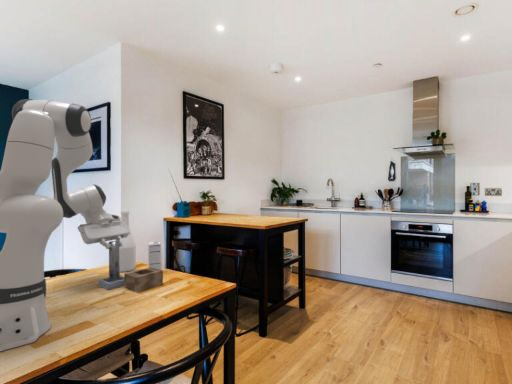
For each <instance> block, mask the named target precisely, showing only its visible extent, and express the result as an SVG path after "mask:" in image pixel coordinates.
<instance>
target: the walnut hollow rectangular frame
mask: <svg viewBox="0 0 512 384" xmlns="http://www.w3.org/2000/svg"><path fill="white" fill-rule="evenodd" d="M123 273H124V274H123V276H124V286H123V287H124V289H126V290H128V291H131V292H134V293H140V292H143V291H146V290H149V289H153V288H156V287H160V286H163V283H164V270H163V269H161V270H159V269H155V268H151V267H149V266H148V267H146V268H141V269H137V270H136V269H135V270H132V271H128V272H123Z"/></svg>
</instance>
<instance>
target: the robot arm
mask: <svg viewBox="0 0 512 384" xmlns="http://www.w3.org/2000/svg"><path fill="white" fill-rule="evenodd" d="M11 118H12V123H11V125H10V128H9V130H8V134H7V139H6V144H5V149H4V153H3V154H4V155H3V159H2V163H1V168H0V233H2V234H3V233H4V234H6V236H5V241H4V244H3V246H2V249H1V250H0V352H4V351H6V350H9V349H10V350H11V349H14V348H17V347H20V346H24V345H25V346H26V345H28V344H31V343H34V342H36V341H37V340H39V338H40V336H42V335H43V334H44V333H45V334H46V332H47V331H49V330H50V329H51V327H52V323H51V321H50V317H49V314H48V311H47V304H46V298H47V280H46V278H45V252H46V247H47V245H48V242H49V239H50V238H51V235H52V234H53V232H54V231H55V230H56V229H57V228H58V227H59V226H60V225H61V224H62V221H63V219H65V218H66V219H71V218H74V217H75V216H77V215H79V214H80V215H81V217H83V218H84V220H85V224H84V223H83V224H82V223H81V224H80V225H79V226H77V231H78V232H79V233H80V237H81V239H82V241H83V244H86V245H92V244H97V243H99V244H100V246H101V245H102V246H103V247H105V249H106V250H109V249H110V248H111V247H112V246H111V244H110V243H109V242H111V241H119V247H121V246H122V245H123V243H122V242H121V238H126V237H127V236H128V235H129V233H130V231H131V229H130V228H129V229H130V230H129V229H128V227H127V226H126V224H125V223H124V222H123V221H121V217H122V216H120V215H118V214H117V215H116V214H111V213H109V212H108V213H107V211H106V210H105V209H104V208H103V207H104V206H105V204H106V200H107V196H106V194H105V192H104V190H103V189H102V187H101V186H99V185H97V184H95V183H93V184H88V185H85V186H83V187H80V188H76V189H73V190H71V191H68V182H67V180H68V177H69V176H70V175H71V174H72V173H73V172H74V171H75V170H77V169H78V168H80V167H81V166H83V165H85V164H86V163H87V162H89V160H90V159H91V157H92V155H93V150H94V149H93V142H92V138H91V135H90V131H91V128H92V117H91V113H90V112H89V110H87V108H86V107H85V106H84V105H80V104H79V103H78V104H77V103H68V102H62V101H57V100H50V99H32V98H27V99H26V98H25V99H20V100H18V101H17V102H16V103H15V104H14V105H13V106H12V110H11ZM55 142H56V145H57V153H56V155H55V157H54V158H53V156H54V150H55ZM50 173H51V178H52V189H53V198H52V197H49V196H46V195H41V194H36V193H37V191H38V189H39V188H40V186H41V185H42V184H43V183H44V182H45V181H46V180H48V178H49V177H50Z"/></svg>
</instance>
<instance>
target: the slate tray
mask: <svg viewBox="0 0 512 384" xmlns="http://www.w3.org/2000/svg"><path fill="white" fill-rule="evenodd" d="M97 283H98V284H97V286H98V287H101V288H103V289H105V290H108V291H111V290H115V289H118V288H123V287H124V275H120V277H119V278H115V279H110V278H109V276H108V277H103V278H99V279H97Z"/></svg>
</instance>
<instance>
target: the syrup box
mask: <svg viewBox="0 0 512 384" xmlns="http://www.w3.org/2000/svg"><path fill="white" fill-rule="evenodd" d="M147 245H148V248H147V249H148V268H149V267H151V268H155V269H159V270H162V243H161V242H160V241H151V242H148V244H147Z"/></svg>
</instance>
